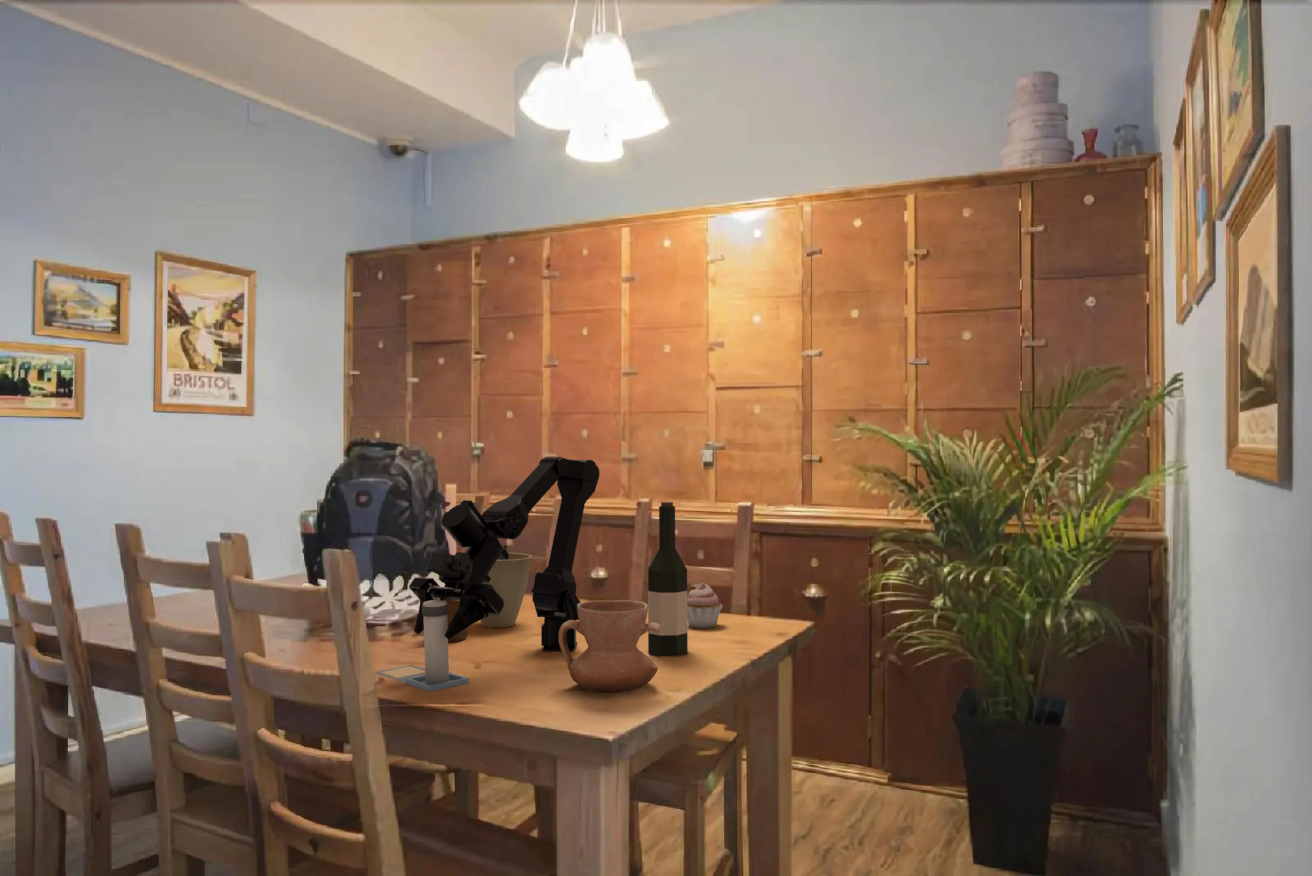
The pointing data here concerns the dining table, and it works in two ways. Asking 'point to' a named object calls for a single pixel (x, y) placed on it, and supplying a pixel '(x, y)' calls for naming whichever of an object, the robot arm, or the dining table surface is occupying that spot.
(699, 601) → the cupcake
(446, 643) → the white grey banded cylinder
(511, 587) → the plant pot
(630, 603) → the ceramic jug
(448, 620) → the mug
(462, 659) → the dining table surface
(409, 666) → the grey rectangular board
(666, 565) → the wine bottle
